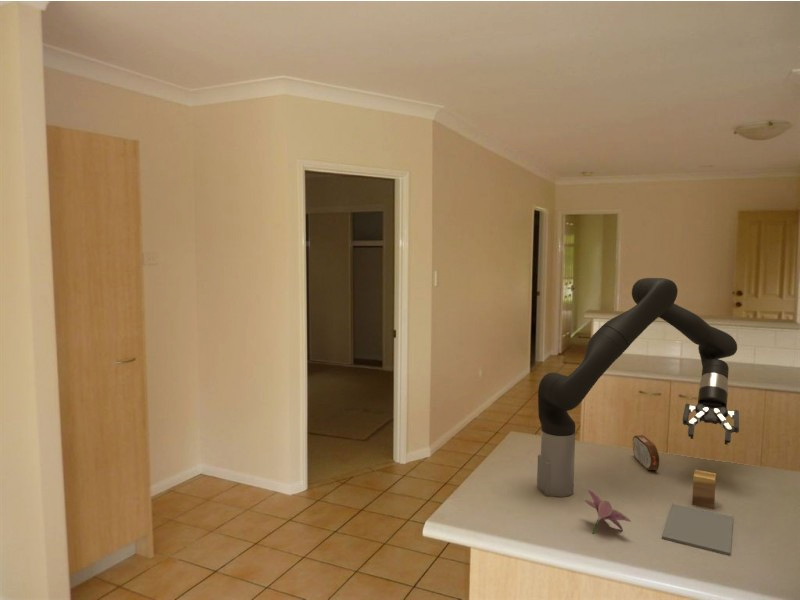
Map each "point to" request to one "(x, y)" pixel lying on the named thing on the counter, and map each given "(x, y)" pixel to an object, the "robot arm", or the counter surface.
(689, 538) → the mat
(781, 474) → the counter surface
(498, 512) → the counter surface
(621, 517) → the lily
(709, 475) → the block
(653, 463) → the tin
